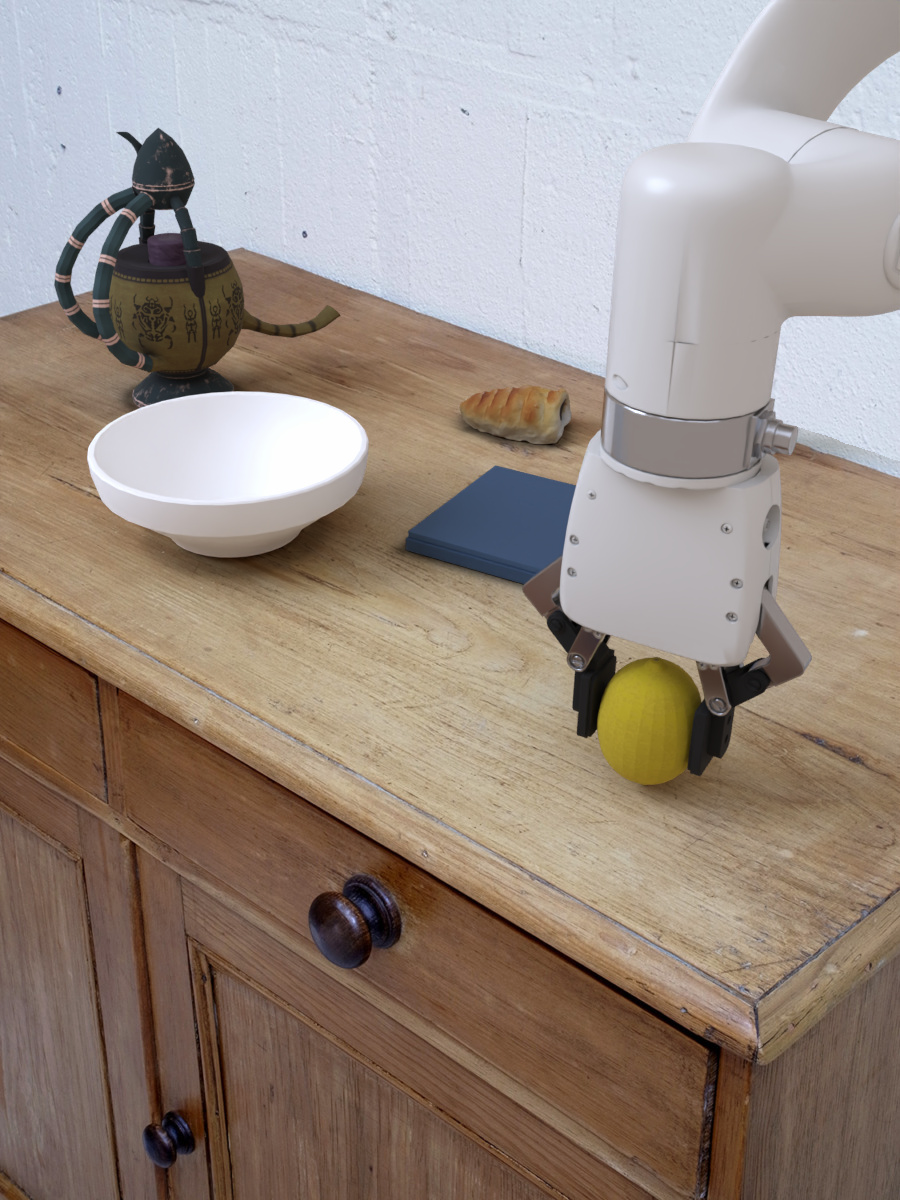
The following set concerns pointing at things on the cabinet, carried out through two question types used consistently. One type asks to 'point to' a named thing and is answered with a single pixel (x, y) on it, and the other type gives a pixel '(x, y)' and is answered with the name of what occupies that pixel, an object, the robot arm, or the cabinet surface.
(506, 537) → the blue flat block
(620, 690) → the lemon
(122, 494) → the bowl
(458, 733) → the cabinet surface
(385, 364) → the cabinet surface
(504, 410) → the pastry
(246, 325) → the teapot
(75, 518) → the cabinet surface
